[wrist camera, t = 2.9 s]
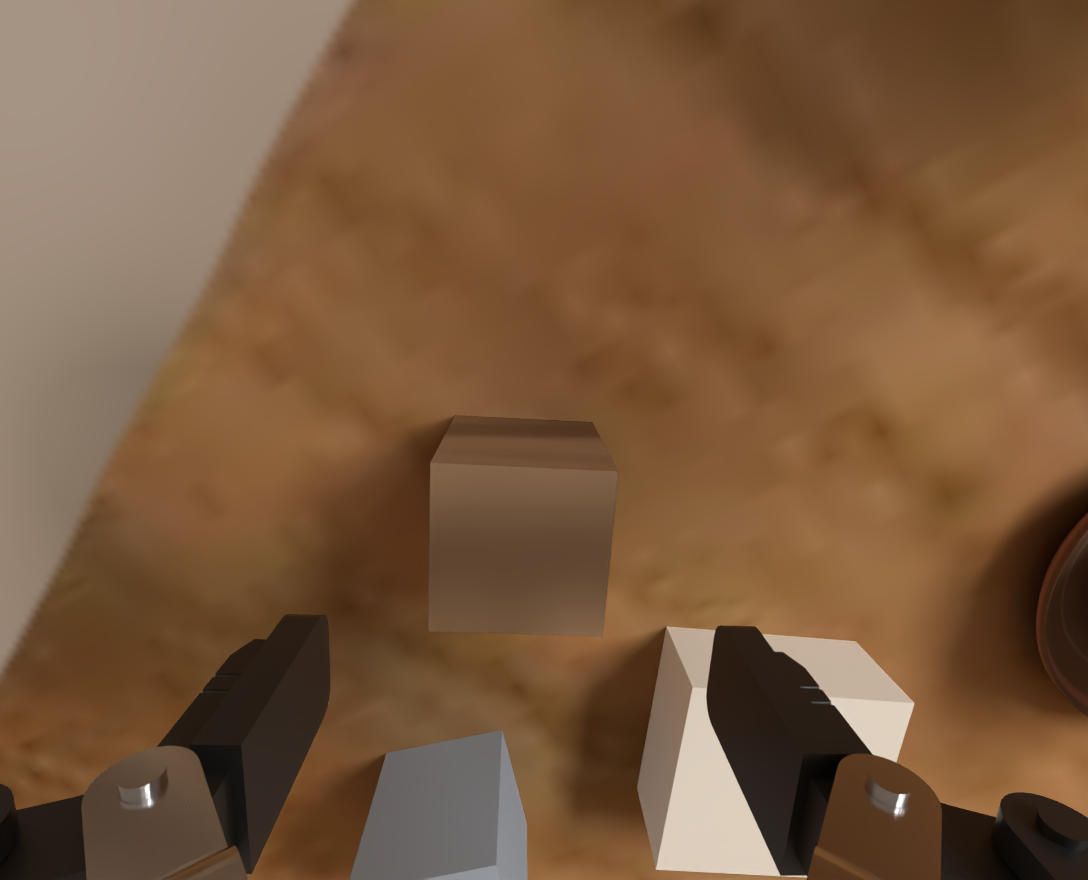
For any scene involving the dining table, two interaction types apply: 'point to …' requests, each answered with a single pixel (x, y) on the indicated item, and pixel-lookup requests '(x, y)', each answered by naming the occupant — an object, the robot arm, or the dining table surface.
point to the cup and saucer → (1066, 617)
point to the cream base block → (702, 767)
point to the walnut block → (520, 527)
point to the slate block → (445, 815)
